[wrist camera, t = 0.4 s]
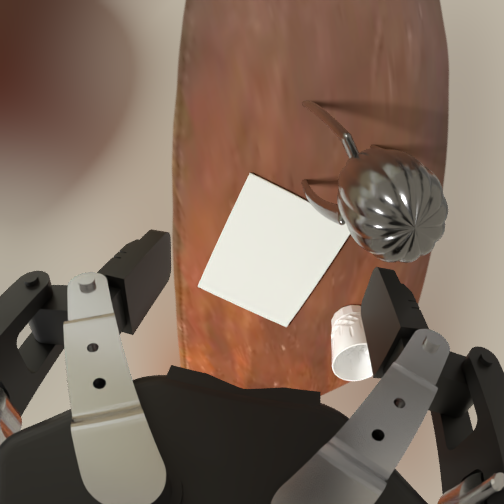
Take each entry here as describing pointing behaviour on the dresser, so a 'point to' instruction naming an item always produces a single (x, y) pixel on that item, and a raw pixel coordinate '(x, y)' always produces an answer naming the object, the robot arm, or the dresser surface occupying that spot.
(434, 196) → the juicer
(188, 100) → the dresser surface
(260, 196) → the mat
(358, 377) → the white cup
